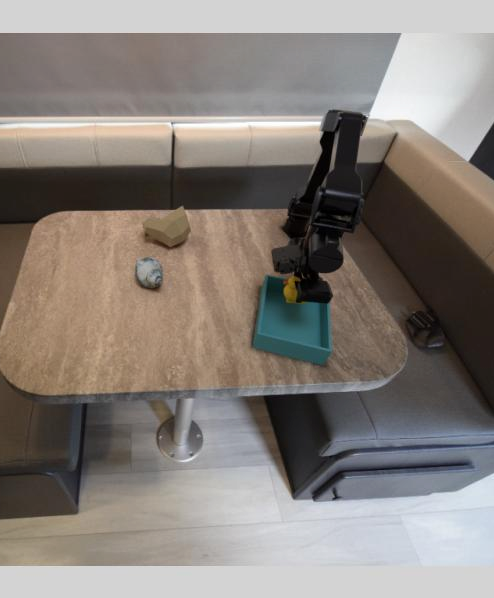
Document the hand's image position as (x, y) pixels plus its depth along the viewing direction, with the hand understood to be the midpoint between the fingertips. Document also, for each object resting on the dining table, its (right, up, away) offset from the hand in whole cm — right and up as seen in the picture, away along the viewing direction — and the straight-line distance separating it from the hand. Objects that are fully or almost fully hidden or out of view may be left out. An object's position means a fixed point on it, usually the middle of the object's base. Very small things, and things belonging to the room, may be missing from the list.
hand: (296, 295), depth 83 cm
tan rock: (-30, +17, +23) cm, 42 cm away
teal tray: (-1, -7, +1) cm, 7 cm away
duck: (0, -1, +1) cm, 1 cm away
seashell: (-35, +4, +10) cm, 37 cm away
